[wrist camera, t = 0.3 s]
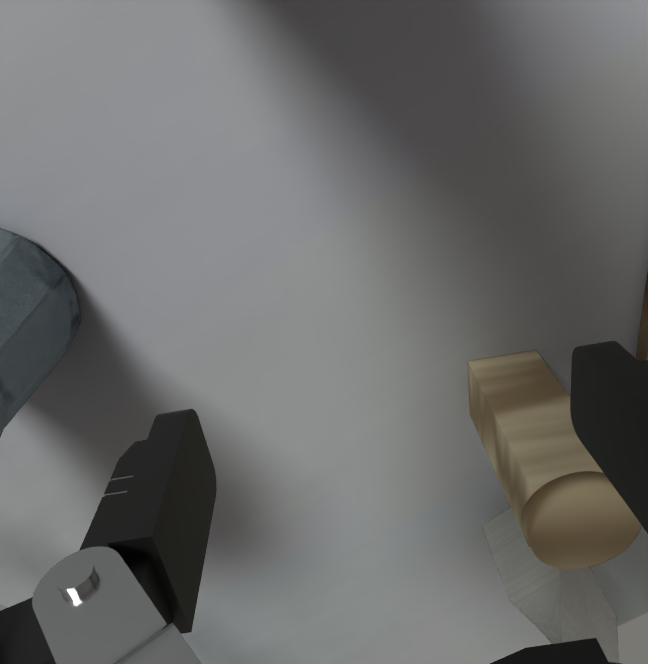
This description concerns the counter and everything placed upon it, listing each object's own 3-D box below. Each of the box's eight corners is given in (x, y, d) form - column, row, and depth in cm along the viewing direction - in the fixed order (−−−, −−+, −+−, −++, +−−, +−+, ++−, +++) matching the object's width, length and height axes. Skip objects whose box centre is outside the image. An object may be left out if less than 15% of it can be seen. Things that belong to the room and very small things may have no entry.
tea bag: (524, 498, 39) (591, 636, 31) (576, 542, 42) (651, 682, 33) (482, 525, 40) (534, 667, 32) (535, 567, 43) (596, 708, 34)
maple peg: (460, 356, 33) (531, 502, 23) (542, 343, 33) (648, 483, 23) (463, 420, 36) (529, 576, 26) (540, 408, 35) (635, 560, 26)
